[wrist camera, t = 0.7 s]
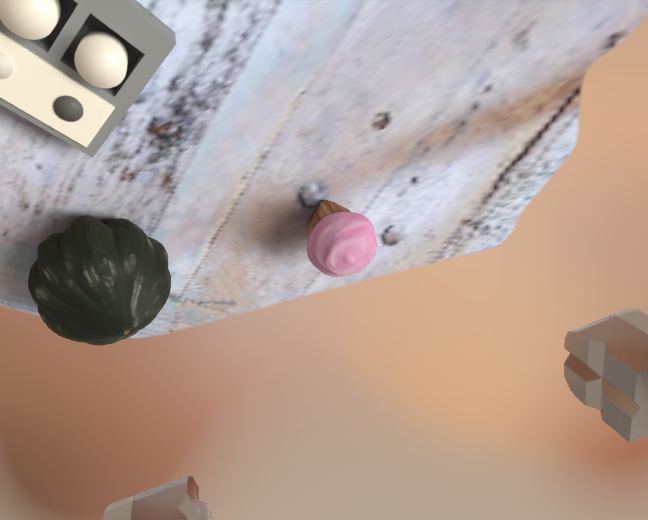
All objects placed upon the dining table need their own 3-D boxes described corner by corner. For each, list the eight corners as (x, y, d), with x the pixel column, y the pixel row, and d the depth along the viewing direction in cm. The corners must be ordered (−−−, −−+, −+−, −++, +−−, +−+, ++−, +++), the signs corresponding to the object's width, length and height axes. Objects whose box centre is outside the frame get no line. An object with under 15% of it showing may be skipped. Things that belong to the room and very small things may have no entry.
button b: (19, -38, 36) (10, -32, 34) (70, 1, 39) (65, 9, 36) (-5, 5, 38) (-16, 13, 35) (46, 40, 40) (39, 50, 38)
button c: (94, 19, 40) (90, 28, 38) (137, 51, 42) (135, 61, 40) (69, 56, 41) (64, 67, 39) (113, 86, 43) (110, 97, 41)
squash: (-25, 281, 50) (54, 393, 47) (55, 182, 46) (144, 298, 44) (80, 271, 63) (145, 358, 61) (148, 194, 59) (220, 283, 57)
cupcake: (312, 180, 59) (334, 224, 52) (369, 195, 63) (397, 239, 56) (287, 235, 64) (304, 284, 56) (341, 247, 68) (364, 293, 60)
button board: (-73, -172, 33) (-98, -177, 30) (174, 32, 45) (176, 45, 41) (-147, -6, 37) (-177, 6, 34) (96, 140, 49) (92, 159, 46)
